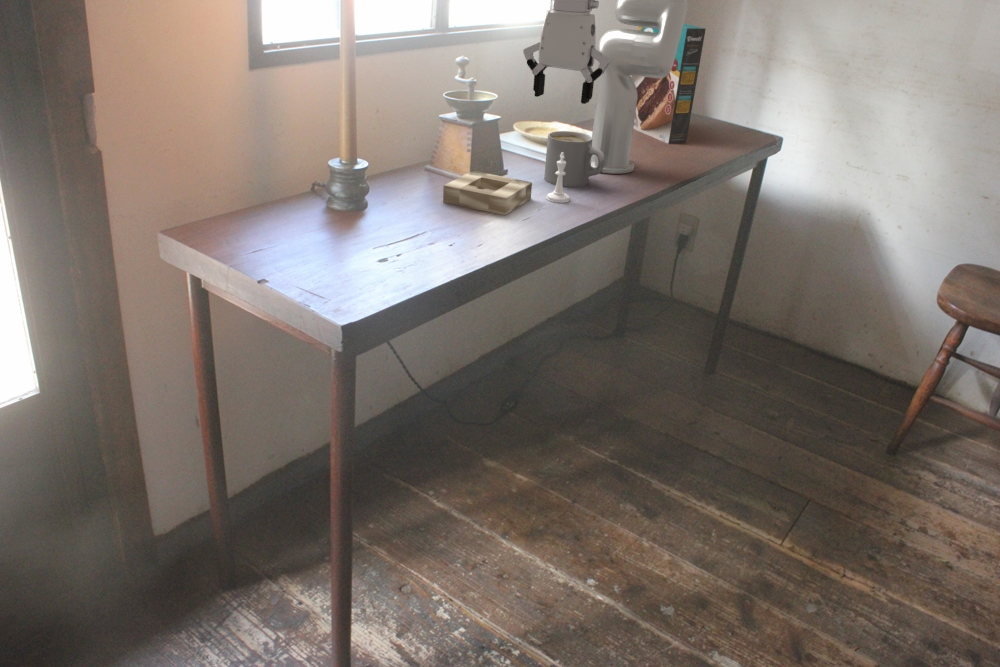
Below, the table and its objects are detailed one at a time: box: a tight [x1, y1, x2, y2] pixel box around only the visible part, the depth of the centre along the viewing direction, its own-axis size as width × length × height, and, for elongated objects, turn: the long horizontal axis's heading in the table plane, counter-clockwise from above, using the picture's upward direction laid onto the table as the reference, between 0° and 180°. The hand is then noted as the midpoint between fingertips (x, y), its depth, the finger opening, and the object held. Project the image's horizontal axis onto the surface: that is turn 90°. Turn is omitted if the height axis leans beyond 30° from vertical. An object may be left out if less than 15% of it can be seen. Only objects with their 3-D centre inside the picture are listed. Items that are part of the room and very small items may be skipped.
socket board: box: [442, 170, 533, 216], centre depth 163 cm, size 13×14×4 cm
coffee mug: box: [543, 130, 605, 188], centre depth 177 cm, size 13×10×10 cm
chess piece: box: [545, 152, 570, 204], centre depth 165 cm, size 5×5×10 cm
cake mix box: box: [631, 23, 706, 145], centre depth 221 cm, size 22×6×30 cm, turn 25°
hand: (561, 99), depth 154 cm, fingers open, 9 cm apart
